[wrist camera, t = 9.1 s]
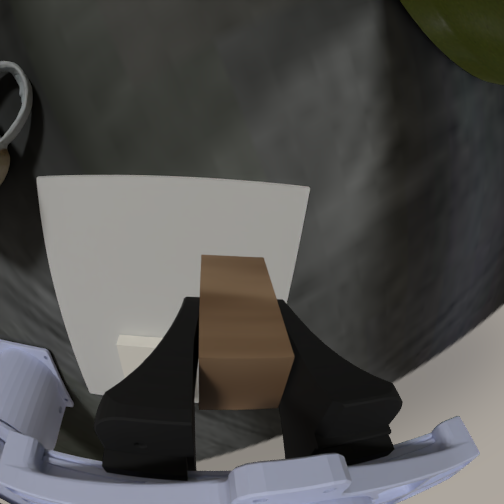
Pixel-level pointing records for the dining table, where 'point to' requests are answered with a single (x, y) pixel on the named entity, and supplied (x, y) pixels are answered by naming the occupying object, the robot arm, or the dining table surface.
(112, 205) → the mat
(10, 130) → the ceramic mug
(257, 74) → the dining table surface
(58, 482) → the robot arm
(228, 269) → the wooden block
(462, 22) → the plant pot
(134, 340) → the tile
